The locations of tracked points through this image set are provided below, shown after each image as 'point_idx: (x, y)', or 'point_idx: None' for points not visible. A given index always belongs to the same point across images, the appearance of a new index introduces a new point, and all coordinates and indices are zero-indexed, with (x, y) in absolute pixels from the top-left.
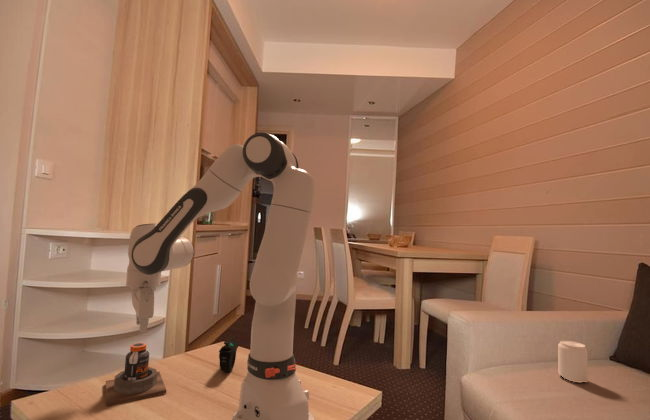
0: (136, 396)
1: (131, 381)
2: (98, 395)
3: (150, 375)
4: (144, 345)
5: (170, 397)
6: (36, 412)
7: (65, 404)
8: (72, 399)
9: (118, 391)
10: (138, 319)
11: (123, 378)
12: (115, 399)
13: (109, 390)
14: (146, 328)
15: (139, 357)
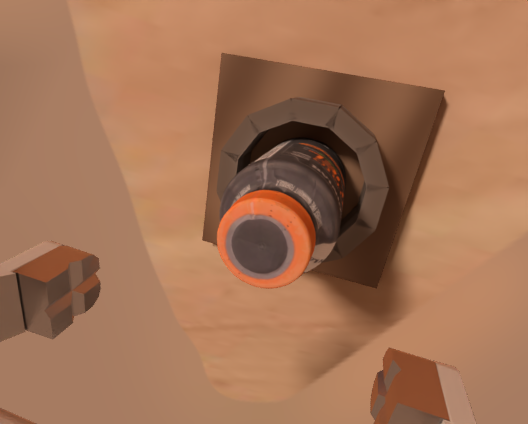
0: (405, 204)
1: (360, 228)
2: None
3: (352, 145)
4: (297, 222)
5: (494, 86)
6: (284, 391)
7: (281, 343)
8: (260, 324)
9: None
10: (58, 323)
11: None
12: (377, 264)
13: None
14: (462, 401)
15: (336, 234)
